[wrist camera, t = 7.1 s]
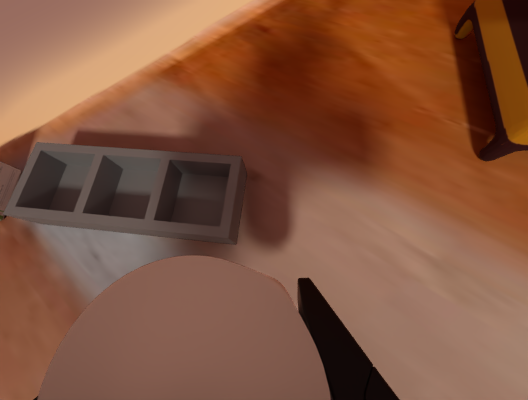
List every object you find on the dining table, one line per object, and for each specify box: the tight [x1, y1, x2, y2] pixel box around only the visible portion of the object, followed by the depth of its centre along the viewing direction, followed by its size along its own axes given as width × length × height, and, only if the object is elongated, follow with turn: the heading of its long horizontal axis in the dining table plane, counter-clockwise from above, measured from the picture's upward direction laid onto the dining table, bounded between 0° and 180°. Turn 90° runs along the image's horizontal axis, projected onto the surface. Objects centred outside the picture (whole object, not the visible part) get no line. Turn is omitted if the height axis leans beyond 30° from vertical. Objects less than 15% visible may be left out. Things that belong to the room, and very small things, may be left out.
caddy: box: [3, 142, 247, 245], centre depth 22 cm, size 20×7×4 cm, turn 83°
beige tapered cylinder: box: [37, 255, 331, 400], centre depth 9 cm, size 4×4×12 cm
